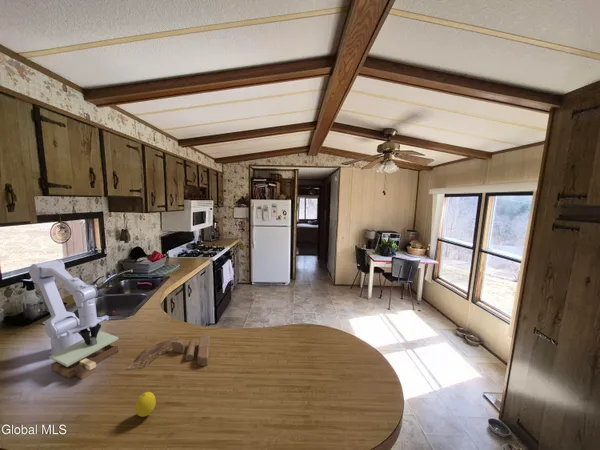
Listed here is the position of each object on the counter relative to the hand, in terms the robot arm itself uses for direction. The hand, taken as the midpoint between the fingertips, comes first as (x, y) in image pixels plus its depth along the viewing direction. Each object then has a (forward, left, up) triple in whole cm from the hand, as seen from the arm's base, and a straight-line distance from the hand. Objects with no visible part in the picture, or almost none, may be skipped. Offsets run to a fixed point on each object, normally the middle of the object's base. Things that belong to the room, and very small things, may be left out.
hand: (90, 342), depth 104 cm
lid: (0, -2, -2) cm, 2 cm away
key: (+12, -7, -3) cm, 14 cm away
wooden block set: (+41, +17, -8) cm, 45 cm away
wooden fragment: (+23, +14, -8) cm, 28 cm away
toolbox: (+3, -2, -7) cm, 8 cm away
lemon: (+51, -10, -8) cm, 53 cm away
